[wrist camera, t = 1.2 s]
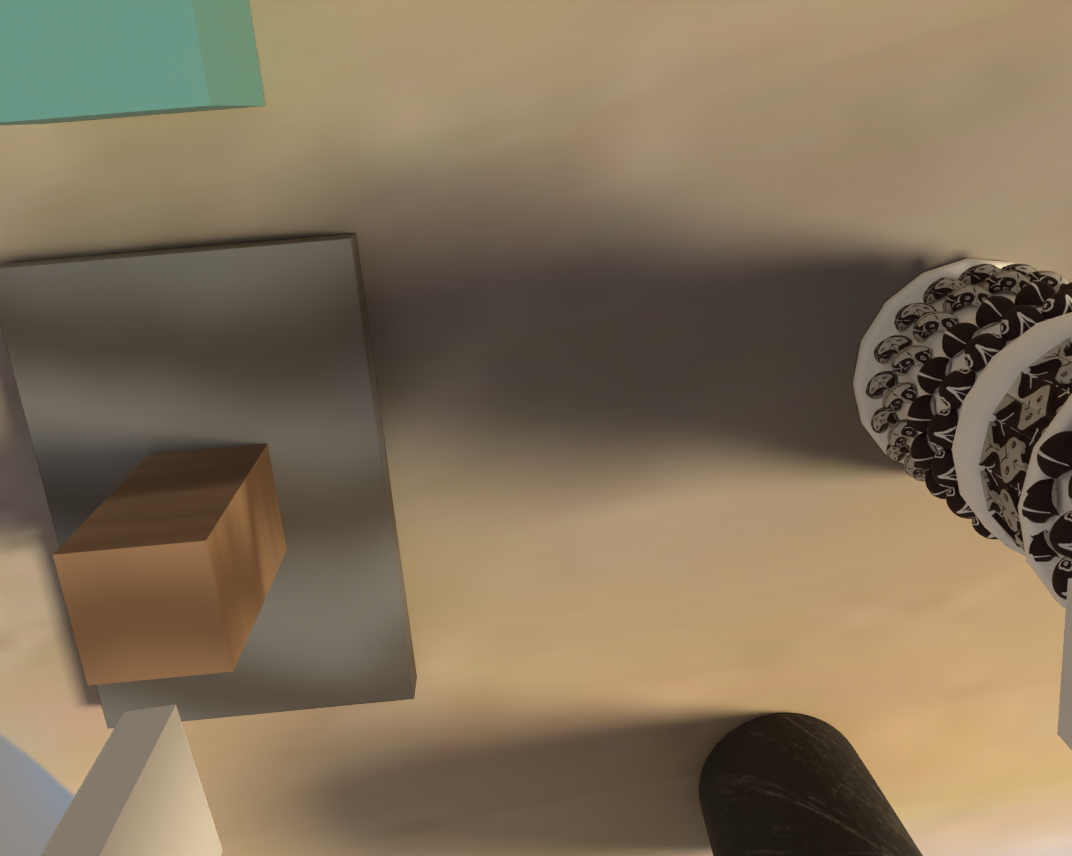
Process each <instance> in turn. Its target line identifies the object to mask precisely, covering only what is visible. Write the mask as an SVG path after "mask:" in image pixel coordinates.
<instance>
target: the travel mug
mask: <svg viewBox="0 0 1072 856" xmlns="http://www.w3.org/2000/svg"><path fill="white" fill-rule="evenodd" d="M699 797H700V802H701V808H702V813H703V817H704V821H705V825H706V829H707V833H708V836H709V840H710V844H711V848H712V851H713V855H714V856H922V854H921V852H920V851H919V849H918V848H917V846H916V845H915V843H914V841H913V840H912V838H911V837H910V835H909V834H908V832H907V830H906V829H905V827H904V826H903V824H902V823H901V821H900V820H899V818H898V816H897V815H896V813H895V812H894V810H893V809H892V807H891V805H890V804H889V802H888V801H887V799H886V798H885V796H884V794H883V793H882V791H881V790H880V788H879V787H878V785H877V783H876V782H875V780H874V779H873V777H872V776H871V774H870V772H869V771H868V769H867V768H866V766H865V765H864V763H863V762H862V760H861V759H860V757H859V756H858V754H857V753H856V751H855V750H854V748H853V747H852V745H851V744H850V743H849V741H848V740H847V739H846V738H845V737H844V736H843V735H842V734H841V733H840V732H839V731H838V730H836V729H835V728H834V727H833V726H831V725H829V724H828V723H826V722H824V721H822V720H819V719H817V718H814V717H810V716H806V715H800V714H775V715H770V716H765V717H761V718H758V719H755V720H752V721H750V722H748V723H746V724H743V725H742V726H740V727H738V728H736V729H735V730H733V731H732V732H731V733H729V734H728V735H727V736H725V737H724V738H723V739H722V740H721V741H720V742H719V743H718V744H717V745H716V747H715V748H714V749H713V750H712V752H711V753H710V755H709V756H708V758H707V760H706V762H705V764H704V767H703V770H702V773H701V777H700V784H699Z"/></svg>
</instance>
